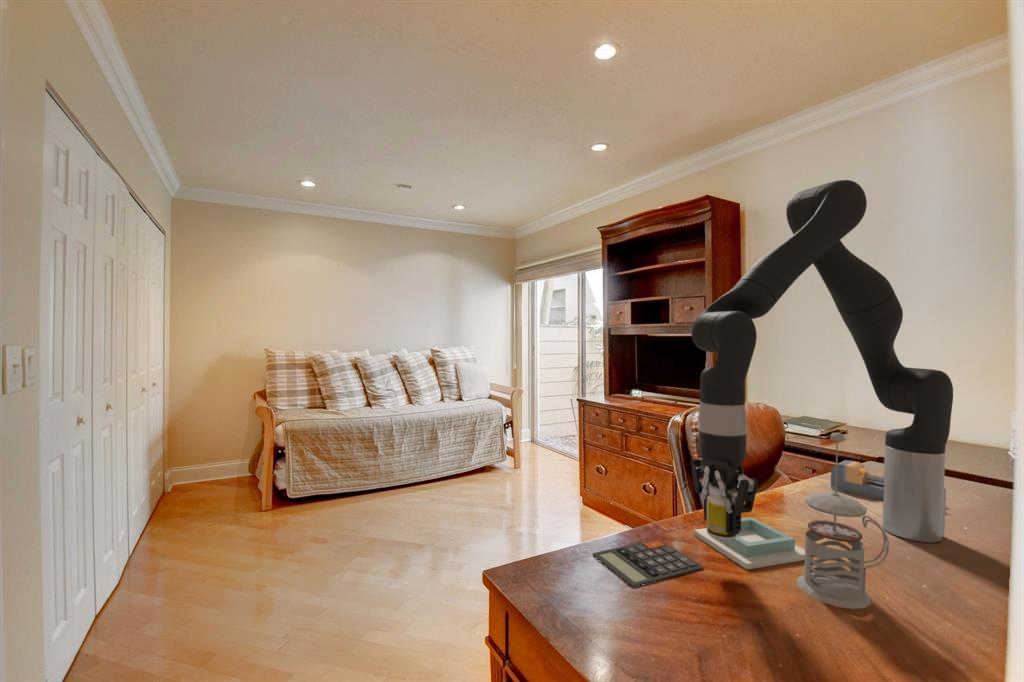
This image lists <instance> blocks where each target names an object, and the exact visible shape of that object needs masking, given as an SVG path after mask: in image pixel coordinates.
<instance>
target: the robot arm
mask: <svg viewBox="0 0 1024 682" xmlns="http://www.w3.org/2000/svg"><path fill="white" fill-rule="evenodd" d="M867 204H868V202H867V196H866V193H865V191H864V189H863V187H862V186H861V185H860V184H859V183H857V182H855V181H853V180H849V179H841V180H836V181H831V182H827V183H824V184H820V185H817V186H814V187H811V188H807V189H804V190H801V191H799V192H797V193H795V194H793V195H792V196H791V197H790V198H789V200H788V202H787V204H786V210H785V211H786V220H787V224H788V226H789V228H790V231H791V232H792V235H791V236H790V237H788V238H787V239H786V240H784V241H783V242H781V243H780V244H778V245H777V246H776V247H774V248H773V249H772V250H770V251H769V252H767V253H766V254H765V255H763V256H762V257H760V258H758V260H757V261H756V262H755V263H754V264H752V265H751V266H750V268H748V270H747V271H746V272H745V273H744V274H743V275H742V276H741V278H740V279H739V280H738V281H737V283H736V284H734V286H733V287H732V288H731V289H730V290H729V291H727V292H725V293H724V294H722V296H719V298H717V300H715V301H713V302H712V303H711V304H710V305H709V306H707V307H706V308H705V309H704V310H703V311H702V312H700V314H699V315H698V316H697V318H695V321H694V323H693V325H692V327H691V338H692V342H693V343H694V345H695V346H696V348H698V349H699V350H701V351H704V352H708V353H717V355H716V360H715V362H714V365H713V366H710V367H707V368H704V369H703V370H702V371H701V373H700V380H699V381H700V382H699V401H700V402H699V408H698V417H697V418H698V421H697V422H698V424H697V425H698V429H697V430H698V433H697V434H698V436H697V437H698V443H697V444H698V448H697V449H698V450H697V451H698V455H700V456H701V457H696V458H695V457H694V458H691V459H690V466H691V473H692V479H693V481H692V482H693V487H694V491H695V493H697V494H700V496H701V499H702V500H703V519H704V520H705V522H707V497H708V496H709V495H710V494H709V485H710V484H711V485H713V486H715V487H718V488H719V489H720V494H721V497H722V498H723V499H724V500H725V505H726V509H727V512H726V533H728V534H729V535H736V534H739V533H740V531H741V518H742V514H743V513H744V514H745V513H751V512H752V511H753V507H754V504H755V498H756V495H757V490H758V486H759V482H758V480H757V478H750V477H748V476H747V475H745V472H744V468H743V464H742V463H743V461H744V460H745V459H746V458H747V443H748V442H747V437H748V435H747V429H748V428H747V427H748V426H747V425H748V424H747V423H748V422H747V420H748V419H747V411H746V410H747V409H746V379H747V375H748V372H749V368H750V366H751V362H752V360H753V356H754V351H755V348H756V344H757V337H758V336H757V328H756V325H755V322H754V319H758V318H761V317H763V316H764V317H765V315H766V314H767V313H768V312H769V311H771V310H772V309H773V307H774V306H775V305H776V304H777V302H779V300H780V299H781V298H782V297H783V295H784V294H786V291H787V290H789V288H790V287H791V286H792V285H793V284H794V283H795V281H797V279H798V278H799V277H800V276H801V275H802V274H803V273H804V272H805V271H807V269H809V268H810V267H811V266H812V265H813V266H814V267H815V268H816V270H817V272H818V273H819V275H820V277H821V280H822V281H823V284H824V285H825V287H826V288H827V290H828V292H829V294H830V296H831V298H832V301H833V302H834V304H835V307H836V309H837V311H838V312H839V315H840V316H841V318H842V321H843V322H844V324H845V326H846V327H847V329H848V331H849V333H850V335H851V337H852V339H853V341H854V342H855V345H856V347H857V349H858V351H859V354H860V356H861V358H862V360H863V362H864V365H865V369H866V371H867V374H868V377H869V379H870V383H871V384H872V388H873V390H874V391H873V392H874V393H875V395H876V397H877V399H878V401H879V402H880V404H881V405H882V406H883V407H884V408H886V409H888V410H891V411H894V412H898V413H902V414H904V413H905V414H909V415H910V414H911V415H913V419H912V423H911V424H910V425H908V426H906V427H903V428H895V429H894V428H892V429H889V430H887V431H886V433H885V435H884V438H885V439H884V462H883V463H884V466H883V470H884V471H883V473H884V474H883V476H884V493H883V500H882V526H881V528H882V529H883V530H884V531H885V532H888V533H890V534H892V535H895V536H897V537H900V538H904V539H905V540H911V541H915V542H919V543H920V542H921V543H938V542H941V541H942V540H943V537H945V532H946V531H945V528H946V525H945V524H946V504H947V503H946V501H947V489H946V488H945V468H946V467H945V465H946V446H947V442H948V438H949V436H950V433H951V432H950V431H951V419H952V410H953V404H954V403H953V402H954V387H953V382H952V380H951V378H950V377H949V375H948V374H947V373H946V372H945V371H942V370H938V369H930V368H917V367H906V366H905V365H903V364H902V363H901V362H900V360H899V358H898V356H897V354H896V351H895V347H894V344H895V341H896V338H897V336H898V334H899V331H900V328H901V325H902V322H903V319H904V318H903V317H904V312H903V308H902V305H901V303H900V301H899V299H898V297H897V294H896V292H895V290H894V289H893V286H892V285H891V283H890V281H889V280H888V279H887V278H886V276H884V274H882V273H880V272H879V271H878V270H876V269H875V268H874V267H873V266H871V265H870V264H868V263H867V262H865V261H864V260H862V259H861V258H859V257H857V255H855V254H854V253H852V252H851V251H850V250H849V249H848V248H847V247H846V246H845V244H844V243H843V242H842V239H843V238H844V237H845V236H846V235H848V234H849V233H850V232H851V231H852V230H854V229H855V228H856V227H857V226H858V225H859V224H860V223H861V222H862V220H863V218H864V217H865V214H866V211H867ZM701 479H702V482H701ZM733 489H734V492H732V493H728V491H727V490H733ZM732 498H734V500H735V505H733V504H732Z"/></svg>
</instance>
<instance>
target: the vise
mask: <svg viewBox="0 0 1024 682" xmlns="http://www.w3.org/2000/svg"><path fill="white" fill-rule="evenodd" d="M830 472H831V473H830V489H831V490H832V491H834V492H835V476H836V464H835V465H833V466H832V468H831V469H830ZM838 492H839V493H850V494H856V495H860V496H863V497H867V498H871V499H877V500H881V501H883V493H884V475H879V474H876V473H875V474H874V473H871V471H869V469H867V468H866V467H865V465H864V464H862V463H861V462H860V461H855V460H851V459H850V460H849V459H848V460H847V459H846V460H843V461H841V462H839V463H837V493H838Z"/></svg>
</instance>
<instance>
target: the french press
mask: <svg viewBox="0 0 1024 682" xmlns="http://www.w3.org/2000/svg"><path fill="white" fill-rule="evenodd" d="M829 439H830V440H831V441H833V442H834V441H835V442H836V446H835V447H836V451H835V465H836V476H835V491H834V492H831V491H828V492H827V491H826V492H816V493H812V494H809V495H807V496H805V499H804V502H805V504H806V505H807V506H808V507H810V508H811V509H814V510H815V511H817V512H821V513H824V514H827V515H831V516H833V521H831V520H824V519H822V520H821V519H820V520H812V521H809V522H808V524H807V527H808V529H809V530H807V531H805V539H804V541H805V542H804V544H805V545H804V550H805V560H804V569H803V570H804V572H803V573H804V574H802V575H800V576H799V577H797V579H796V584H797V586H798V588H799V589H800V590H801V591H802V592H804V593H805V594H806V595H808V596H809V597H811V598H813V599H815V600H817V601H819V602H821V603H825V604H827V605H830V606H834V607H836V608H837V607H838V608H844V609H851V610H855V609H858V610H859V609H865V608H867V607H869V606H870V605H872V597H870V595H869V594H868V593H867V592H866V572H867V571H866V570H867V569H869V568H873V567H874V568H875V567H877V566H879V565H880V564H882V563H883V562H884V561H885V560H886V559H887V557H888V555H889V551H890V549H889V548H890V541H889V538H888V536H887V533H886V531H885V529H884V528H883V527H882V526H881V524H879V523H878V521H876V520H874V519H873V518H871V517H870V516H869V515H866V514H867V512H868V508H867V507H866V506H865V505H863V504H862V503H861V502H859V501H858V500H856V499H854V498H853V497H850V496H848V495H845V494H842V493H838V491H837V464H838V461H839V460H838V458H839V457H838V452H839V450H838V449H839V442H845V437H844V435H843V433H840V432H831V434H830V438H829ZM836 517H845V518H859V517H860V518H861V517H862V521H861V522H862V525H863V527H864V528H867V527H868V523H869V522H870V523H872V524H873V525H875V526H876V527H877V528H878V529H879V530H880V531H881V534H882V538H883V539H882V540H883V545H882V548H881V551H880V552H879V554H878V555H877V556H875V557H874V558H872V559H868V560H865V547H864V543H863V541H862V540H863V533H862V532H861V531H859V530H858V529H856V528H854V527H852V526H850V525H847V524H845V523H841V522H839V523H838V522H837V520H836ZM866 518H867V519H866ZM823 539H828V540H827V541H824V542H821V543H817V542H819V541H821V540H823ZM842 542H843V543H842ZM844 542H845V543H847V544H848V545H850V546H851V548H850V547H849V546H847V545H846V544H844ZM829 546H837V547H840V548H841V549H838V548H833V547H829ZM842 549H843V550H842ZM884 551H885V554H884V555H883V553H884ZM882 555H883V557H882ZM881 557H882V558H881ZM814 558H816V559H815V560H814ZM844 558H846V559H847V560H848V561H846V560H845V559H844ZM880 558H881V560H880V561H879V562H877V563H875V564H869V565H866V566H865V564H868V563H872V562H875V561H877V560H878V559H880ZM827 561H834V562H827ZM849 561H850V562H849ZM824 562H827V563H824ZM813 566H815V567H813ZM845 567H847V568H848V569H850V570H848V569H847V568H845Z"/></svg>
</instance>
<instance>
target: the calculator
mask: <svg viewBox="0 0 1024 682" xmlns="http://www.w3.org/2000/svg"><path fill="white" fill-rule="evenodd" d="M593 556H594V558H595V557H596V558H597V559H598V560H600V561H601V562H602V563H603V564H604V565H603V564H602V563H601V562H600V561H599V562H600V563H601V564H602V565H603V566H605V565H606V566H607V567H608V568H609V569H608V568H607V567H606V566H605V567H606V568H607V569H608V570H610V569H611V570H612V571H613V572H614V573H613V572H612V571H611V570H610V571H611V572H612V573H613V574H614V575H616V574H617V575H618V576H619V577H618V576H617V575H616V576H617V577H618V578H620V577H621V578H622V579H623V580H624V581H623V580H622V579H621V578H620V579H621V580H622V581H623V582H625V583H626V582H627V583H628V584H629V585H628V584H627V583H626V584H627V585H628V586H630V587H631V586H632V587H631V588H633V587H635V588H637V587H636V586H639V585H642V584H646V585H648V584H647V583H650V584H652V583H651V582H654V581H657V582H660V581H659V580H661V581H664V579H665V580H667V579H671V578H676V577H679V576H680V577H681V576H683V575H687V574H690V573H694V572H697V571H701V570H703V569H704V566H703V565H702V564H700V563H699V562H697V561H696V560H693V559H692V558H691V557H689V556H687V555H686V554H684V553H682V552H680V551H679V550H677V549H675V548H674V547H672V546H670V545H669V544H667V543H666V542H664V541H662V540H661V539H659V538H654V539H650V540H646V541H641V542H640V541H639V542H636V543H632V544H628V545H623V546H619V547H614V548H610V549H606V550H601V551H597V552H593V553H592V557H593ZM596 558H595V559H596ZM611 558H612V559H611ZM597 559H596V560H597ZM598 560H597V561H598ZM654 583H655V582H654ZM642 586H643V585H642ZM639 587H640V586H639Z"/></svg>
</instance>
